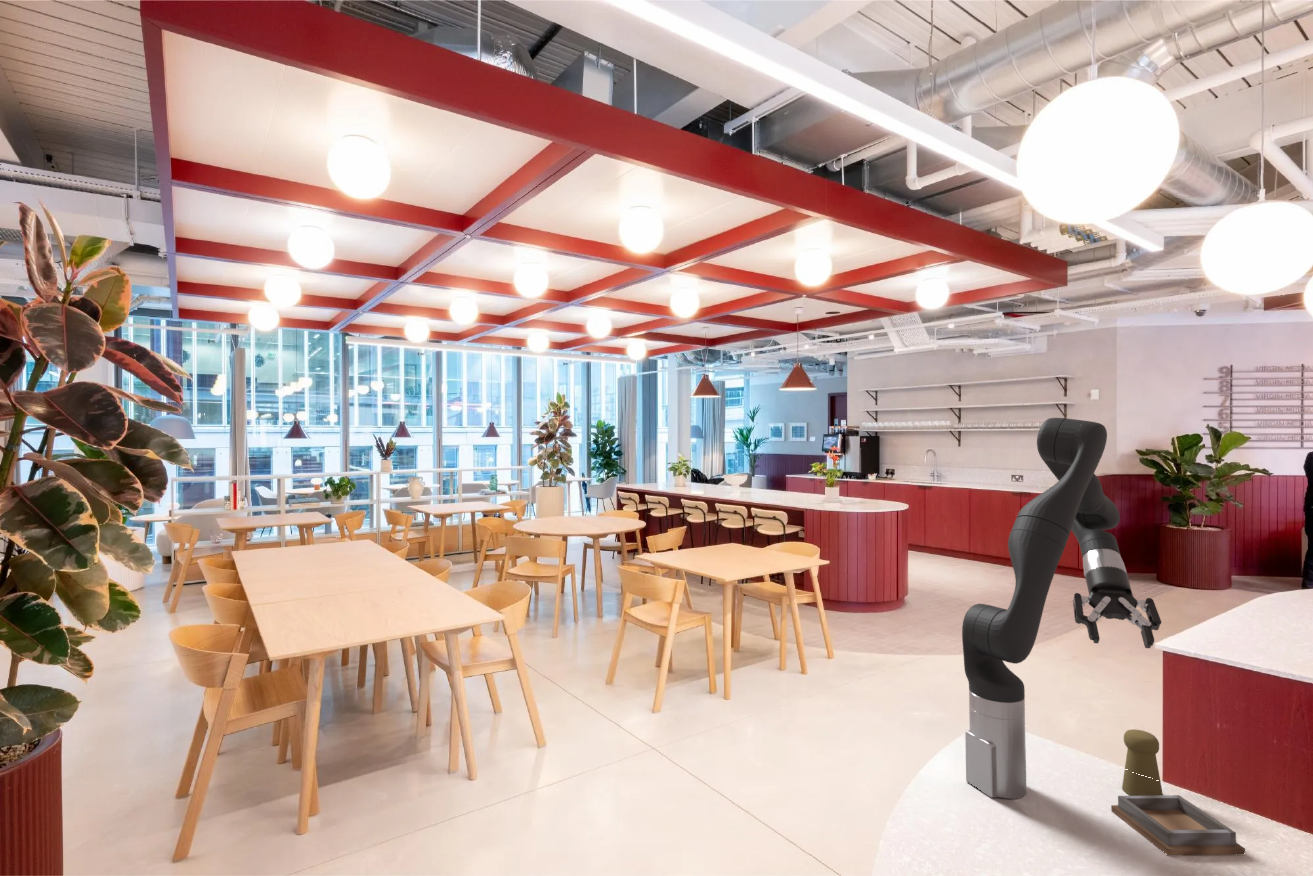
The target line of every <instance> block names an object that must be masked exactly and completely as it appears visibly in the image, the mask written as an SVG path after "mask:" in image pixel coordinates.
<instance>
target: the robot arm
mask: <svg viewBox="0 0 1313 876" xmlns="http://www.w3.org/2000/svg"><path fill="white" fill-rule="evenodd" d="M1107 441H1108V432H1107V428H1106V427H1105V425H1103V424H1102V423H1100V422H1096V421H1089V420H1083V419H1073V418H1067V417H1066V418H1064V417H1049V418H1048V419H1045V421H1043V422H1042V424H1041V425H1040V427H1039V429H1038V432H1037V437H1036V448H1037V453H1038V454H1039V456H1040V458H1041V460H1042V461H1043V463H1044V464H1045V465H1046V467H1048V469H1049V470H1050V472H1051V473H1052V474H1053V475H1054V476H1055V478H1056V480H1058V481H1057V482H1056V483H1055V484H1054V485H1052V486H1050V487H1049V488H1048V489H1046V490H1045V491H1043V492H1041V493H1040V494H1039V495H1037V496H1035V497H1034V498H1033V499H1030V501H1028V502H1027V503H1026V504H1025V505H1024V506H1023V507H1022V508H1020V510H1019V511H1018V513H1017V516H1016V518H1015V521H1014V523H1013V525H1012V528H1011V531H1010V533H1009V536H1008V541H1007V548H1008V549H1007V550H1008V553H1009V558H1010V562H1011V565H1012V569H1013V573H1014V578H1015V586H1014V592H1013V595H1012V599H1011V601H1010V604H1009V606H1008V607H1007V609H1006V608H1002V607H998V606H994V605H991V604H985V603H977V604H974V605H972V606H970V607H969V608H968V610H967V611H966V612H965V614H964V617H963V620H962V626H961V627H962V628H961V638H962V642H961V643H962V650H963V654H962V655H963V667H964V673H965V676H966V679H967V682H968V699H969V700H968V701H969V702H968V703H969V704H968V707H969V710H968V711H969V712H968V713H969V715H968V716H969V717H968V718H969V730H966V731H965V734H964V735H965V737H964V738H965V739H964V740H965V780H966V782H967V783H968V782H969V783H968V784H970V785H971V784H972V787H974V786H975V787H974V788H976V787H977V788H978V791H980V790H981V791H980V792H982V793H984V794H985V795H987V796H988V797H989V798H1002V799H1011V800H1012V799H1019V798H1022V797H1025V795H1026V794H1027V755H1026V750H1027V749H1026V746H1027V745H1026V707H1025V706H1026V700H1025V698H1026V697H1025V696H1026V690H1025V684H1024V682H1023V681H1022V679H1021V678H1020V677H1018V676H1017V675H1016V674H1015V673H1014V672H1013V671H1012V670H1010V668H1009V667H1008V666H1007V665H1006V664H1005V662H1006V663H1009V664H1020V663H1022V662H1024V661H1025V660H1026V659H1027V658H1028V657H1029V656H1030V655H1031V652H1032V650H1033V648H1034V645H1035V643H1036V639H1037V636H1038V633H1039V628H1040V624H1041V620H1042V616H1043V612H1044V608H1045V605H1046V601H1047V596H1048V594H1049V590H1050V588H1051V587H1050V586H1051V584H1052V581H1053V579H1054V576H1055V573H1056V570H1057V568H1058V565H1059V563H1060V560H1061V558H1062V556H1063V553H1064V552H1065V551H1064V550H1065V549H1066V545H1067V543H1068V540H1069V537H1070V534H1071V532H1072V533H1073V535H1074V537H1075V539H1076V540H1077V542H1078V543H1077V544H1078V545H1079V548H1080V552H1081V557H1082V567H1083V576H1084V578H1085V583H1086V586H1087V592H1088V596H1083V595H1082V594H1081V593H1079V592H1076V593H1074V594H1073V599H1072V606H1073V613H1074V622H1075V623H1076V624H1078V625H1080V624H1082V625H1084V626H1086V629H1087V633H1088V634H1087V635H1088V638H1089V639H1090V641H1093V644H1099V642H1100V634H1099V629H1098V624H1097V622H1098V621H1100V619H1101V618H1102V617H1104V618H1105V619H1108V620H1111V619H1115V620H1119V621H1124V620H1125V619H1126V620H1127V621H1128V622H1129V623H1130V624H1132V625H1135V626H1136V627H1137V628H1138V629H1140V635H1141V639H1142V641H1143V645H1144V648H1145V649H1151V647H1153V646H1154V643H1155V636H1154V634H1153V630H1154V631H1158V630H1159V629H1160V626H1161V624H1162V619H1161V617H1160V614H1159V611H1158V609H1157V606H1156V604H1155V602H1154V599H1153V598H1151V597H1148V598H1145V600H1144V599H1143V600H1141V599H1137V598H1136V597H1134V595H1133V592H1132V587H1131V584H1130V580H1129V576H1128V572H1127V568H1126V566H1125V562H1124V561H1123V558H1122V557H1121V552H1120V548H1119V545H1118V541H1117V538H1116V537H1115V536H1114V535H1113V534H1112V533H1111V532H1109V531H1107V530H1112V529H1114V528H1116V527H1117V526H1118V525H1119V523H1120V520H1121V516H1120V515H1121V514H1120V512H1119V509H1118V507H1117V505H1116V504H1115V503H1114V502H1113V501H1112V500H1111V499H1110V498H1109V497H1108V496H1107V495H1105V493H1104V490H1103V485H1102V482H1101V481H1100V479H1099V477H1098V476H1097V475H1096V474H1095V471H1096V470H1097V468H1098V466H1099V463H1100V461H1101V459H1102V457H1103V453H1104V452H1105V448H1106V445H1107ZM1086 604H1088V605H1089V606H1090V607H1091V608H1093V610H1092V612H1091V613H1090V614H1089V615H1084V607H1085V606H1086ZM1137 608H1140V609H1141V611H1142V612H1144V613H1145V614H1146V616H1147V618H1146V617H1144V616H1143V614H1142V612H1141V611H1139V610H1138V609H1137ZM977 788H976V789H977Z"/></svg>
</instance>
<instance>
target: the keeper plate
mask: <svg viewBox="0 0 1313 876" xmlns="http://www.w3.org/2000/svg"><path fill="white" fill-rule="evenodd" d="M1117 802H1118V803H1117V804H1118V805H1117V804H1115V805H1114V804H1112V805H1110V806H1111V807H1110V808H1111V809H1110V810H1111V812H1112V813H1113V814H1114V815H1116V816H1117V817H1118V818H1119V819H1121V820H1122V821H1123V822H1125V824H1127V825H1128V826H1130V827H1131V828H1132V829H1134V830H1135V832H1137V833H1138V834H1140V835H1141V836H1142V837H1143V838H1144V839H1146V840H1147V841H1149V842H1150V843H1153V844H1152V845H1154V846H1155V847H1156V848H1157V847H1158V848H1157V849H1159V850H1160V849H1161V850H1162V851H1161V850H1160V851H1161V852H1163V851H1164V852H1163V853H1164V854H1165V853H1166V854H1167V855H1166V854H1165V855H1166V856H1168V855H1183V856H1239V855H1238V854H1244V853H1245V854H1246V847H1244V846H1242V845H1240V844H1239V843H1238V842H1237V832H1236V831H1234V830H1233V829H1231V828H1229V827H1228V826H1227V825H1225V824H1224V823H1222V822H1221V821H1219V820H1218V819H1216V818H1214V817H1213V816H1211V815H1209V814H1208V813H1207V812H1205V811H1204V810H1202V809H1201V808H1199V807H1197V806H1196V805H1195V804H1193V803H1191V802H1190V801H1188V800H1187V799H1186V798H1184V797H1182V796H1181V795H1179V794H1175V795H1172V794H1171V795H1170V794H1169V795H1166V794H1165V795H1164V794H1163V795H1160V796H1130V795H1118V796H1117ZM1236 854H1237V855H1236Z"/></svg>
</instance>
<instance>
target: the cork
mask: <svg viewBox="0 0 1313 876" xmlns="http://www.w3.org/2000/svg"><path fill="white" fill-rule="evenodd" d="M1123 742H1124V745H1125V746H1126V748H1127V750H1126V751H1127V752H1126V755H1125V756H1126V757H1125V758H1126V759H1125V763H1124V764H1125V765H1124V771H1123V779H1122V786H1121V790H1122V791H1123V793H1125V794H1126V795H1127V796H1160V795H1164V793H1163V788H1162V784H1161V776H1160V772H1159V767H1158V766H1159V765H1158V761H1157V754H1158V753H1159V750H1160V742H1159V739H1158V738H1157V737H1156V735H1154V734H1152V733H1150V732H1149V731H1145V730H1142V729H1128V730H1126V731H1125V732H1124V734H1123ZM1125 769H1128V770H1125ZM1132 772H1134V773H1132ZM1136 773H1137V774H1136ZM1138 774H1140V775H1138ZM1141 775H1144V776H1141ZM1145 776H1147V777H1145ZM1148 777H1151V778H1148ZM1152 778H1153V779H1152ZM1156 780H1159V781H1156Z"/></svg>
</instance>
